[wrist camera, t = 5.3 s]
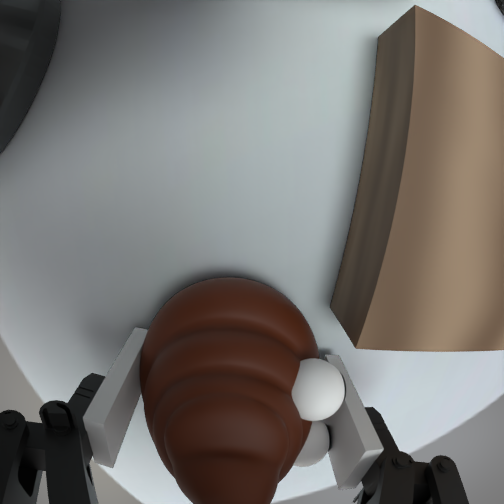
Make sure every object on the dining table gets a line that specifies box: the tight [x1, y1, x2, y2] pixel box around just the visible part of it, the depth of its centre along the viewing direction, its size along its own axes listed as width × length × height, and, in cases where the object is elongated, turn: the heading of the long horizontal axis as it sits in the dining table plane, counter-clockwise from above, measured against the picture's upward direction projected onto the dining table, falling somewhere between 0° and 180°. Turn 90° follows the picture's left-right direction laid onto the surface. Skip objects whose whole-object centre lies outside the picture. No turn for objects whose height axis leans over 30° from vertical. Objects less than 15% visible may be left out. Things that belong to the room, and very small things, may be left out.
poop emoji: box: [140, 277, 346, 504], centre depth 11 cm, size 10×9×9 cm
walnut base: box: [330, 5, 504, 352], centre depth 12 cm, size 14×14×4 cm
